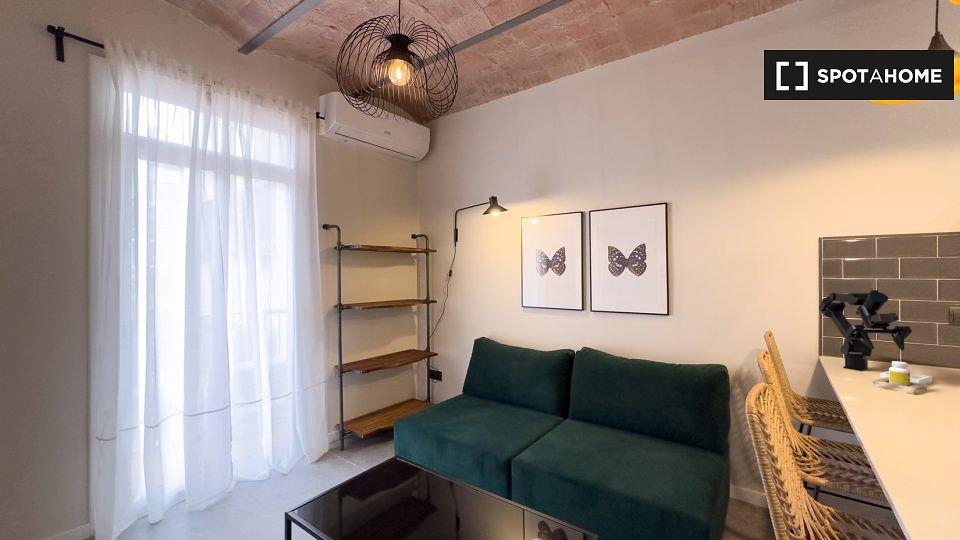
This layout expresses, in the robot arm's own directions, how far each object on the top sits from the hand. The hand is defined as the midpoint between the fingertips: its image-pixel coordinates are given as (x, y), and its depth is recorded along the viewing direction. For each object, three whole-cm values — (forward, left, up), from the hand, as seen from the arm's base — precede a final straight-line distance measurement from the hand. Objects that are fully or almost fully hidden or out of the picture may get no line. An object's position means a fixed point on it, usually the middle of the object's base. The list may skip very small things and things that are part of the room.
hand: (887, 349), depth 153 cm
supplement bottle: (+5, -5, -13) cm, 15 cm away
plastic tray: (+2, +9, -13) cm, 16 cm away
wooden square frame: (+5, -5, -13) cm, 15 cm away
